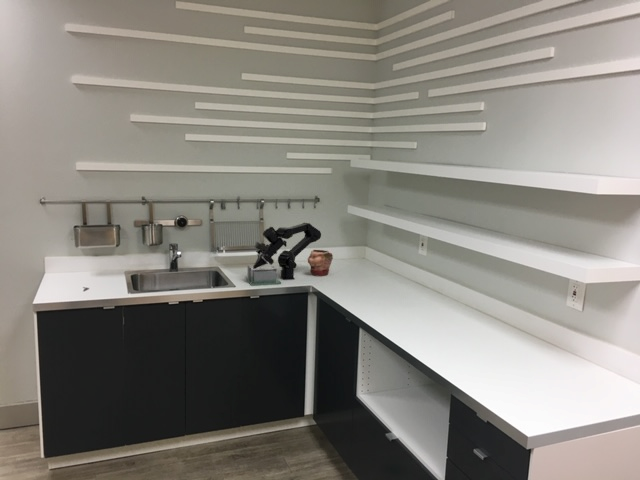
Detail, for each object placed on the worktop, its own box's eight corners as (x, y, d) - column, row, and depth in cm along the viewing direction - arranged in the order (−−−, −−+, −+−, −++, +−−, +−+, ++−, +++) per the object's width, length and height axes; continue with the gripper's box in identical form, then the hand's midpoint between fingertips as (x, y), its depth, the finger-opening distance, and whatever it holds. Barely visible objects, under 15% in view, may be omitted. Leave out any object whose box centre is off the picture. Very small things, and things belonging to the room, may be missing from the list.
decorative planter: (322, 269, 315) (323, 247, 313) (338, 272, 308) (339, 249, 306) (302, 275, 299) (302, 251, 297) (319, 278, 292) (319, 254, 290)
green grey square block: (273, 277, 292) (273, 262, 290) (281, 284, 277) (281, 268, 276) (245, 278, 286) (245, 263, 285) (251, 285, 272) (251, 270, 270)
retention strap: (273, 268, 285) (273, 267, 284) (275, 269, 281) (275, 268, 281) (249, 268, 280) (249, 267, 280) (251, 269, 276) (251, 268, 276)
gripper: (259, 234, 286) (239, 254, 284) (268, 239, 269) (246, 261, 267) (273, 248, 290) (253, 268, 288) (282, 254, 273) (261, 275, 271)
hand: (253, 267), depth 278 cm, fingers closed, pressing on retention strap
